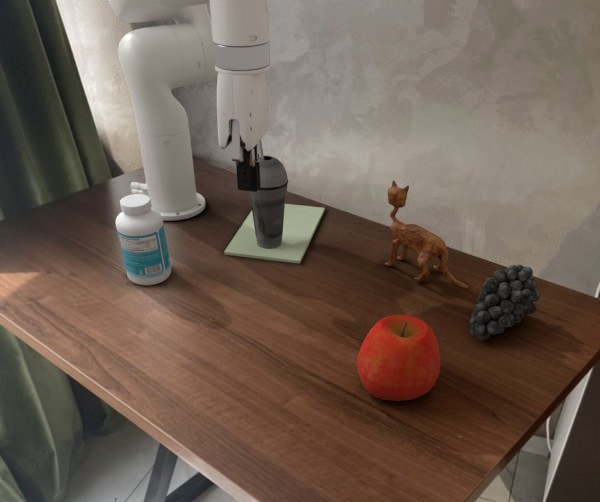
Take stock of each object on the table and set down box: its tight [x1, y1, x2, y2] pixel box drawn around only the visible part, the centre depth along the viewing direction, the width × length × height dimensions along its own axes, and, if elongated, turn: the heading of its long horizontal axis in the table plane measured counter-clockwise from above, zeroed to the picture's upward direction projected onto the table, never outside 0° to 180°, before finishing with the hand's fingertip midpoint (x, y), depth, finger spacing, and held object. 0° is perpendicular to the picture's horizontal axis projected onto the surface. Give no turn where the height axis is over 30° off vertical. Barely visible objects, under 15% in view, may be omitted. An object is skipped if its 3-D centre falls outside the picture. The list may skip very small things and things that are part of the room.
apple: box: [357, 314, 442, 402], centre depth 78 cm, size 11×11×11 cm
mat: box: [223, 203, 326, 265], centre depth 115 cm, size 14×22×1 cm, turn 167°
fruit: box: [469, 264, 541, 341], centre depth 90 cm, size 9×8×15 cm
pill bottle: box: [115, 194, 172, 286], centre depth 98 cm, size 8×7×14 cm
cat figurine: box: [383, 179, 470, 290], centre depth 99 cm, size 18×7×14 cm, turn 46°
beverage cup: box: [248, 139, 289, 249], centre depth 104 cm, size 7×7×20 cm
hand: (249, 188), depth 93 cm, fingers closed
